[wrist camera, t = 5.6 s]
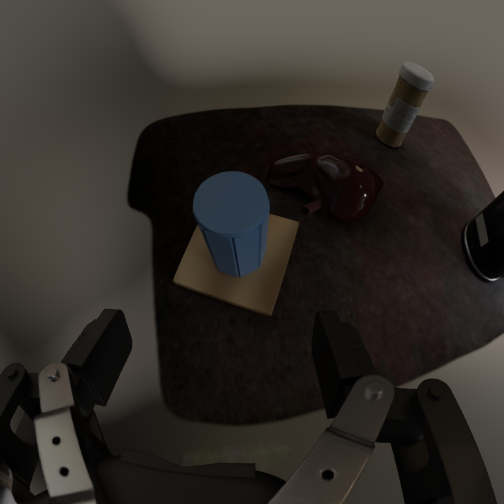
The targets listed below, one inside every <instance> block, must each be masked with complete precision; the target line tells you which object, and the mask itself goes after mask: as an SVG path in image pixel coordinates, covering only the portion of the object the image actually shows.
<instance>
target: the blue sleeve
mask: <svg viewBox="0 0 504 504" xmlns="http://www.w3.org/2000/svg"><path fill="white" fill-rule="evenodd" d="M269 208H270V204H269V199H268V196H267V193H266V190H265V188H264V187H263V185H262V184H261V183H260V182H259V181H258V180H257V179H256V178H254V177H253V176H251V175H249V174H246V173H243V172H236V171H229V172H223V173H219V174H216V175H214V176H212V177H210V178H209V179H207V180H206V181H204V182H203V183H202V184H201V186H200V187H199V188H198V190H197V191H196V194H195V196H194V200H193V213H194V215H195V218H196V221H197V223H198V226H199V228H200V231H201V233H202V236H203V238H204V241H205V243H206V246H207V248H208V251H209V253H210V255H211V257H212V260H213V262H214V264H215V266H216V268H217V270H219V272H222V273H225V274H228V275H231V276H234V277H238V276H239V275H240V277H242V276H244V275H247V274H249V273H251V272H253V271H255V270H257V269H258V267H260V266H261V263H262V260H263V257H264V254H265V251H266V243H267V232H268V220H269Z"/></svg>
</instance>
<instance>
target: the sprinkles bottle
mask: <svg viewBox="0 0 504 504" xmlns="http://www.w3.org/2000/svg"><path fill="white" fill-rule="evenodd" d="M399 73H400V75H399V78H398V81H397V84H396V86H395V88H394V91H393V93H392V95H391V97H390V99H389V102H388V104H387V107H386V109H385V111H384V114H383V118H382V120H381V122H380V124H379V127H377V129H376V135H377V137H378V138H379V139H380V140H381V141H382V142H383V143H384V144H386V145H388V146H391V147H399V146H400V145H401V144H402V140H403V139H404V136H405V135H406V133H407V132H408V130H409V128H410V127H411V125H412V123H413V121H414V119H415V117H416V115H417V113H418V111H419V109H420V107H421V104H422V102H423V100H424V98H425V96H426V94H427V93H428V91H429V90H430V89H431V87H432V85H433V82H434V78H433V76H432V75H431V73H429V72H428V71H427V70H426V69H424V68H423V67H421V66H419V65H417V64H415V63H412V62H404V63H403V64H402V66H401V69H400V72H399Z"/></svg>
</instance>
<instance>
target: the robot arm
mask: <svg viewBox="0 0 504 504" xmlns="http://www.w3.org/2000/svg"><path fill="white" fill-rule="evenodd" d="M462 247H463V251H464V255H465V257H466V260H467V262H468V264H469V266H470V268H471V269H472V271H473V272H474V274H475V275H476V276H477V277H478V278H480V279H481V280H482V281H485V282H493V281H495V280H497V279H499V278H503V277H504V191H503V192H502V193H501V194H500V195H499V196H498V197H496V198H495V199H494V200H493V201H492V202H491V203H490V204H489V205H488V206H487V207H486V208H485V209H483V210H482V211H481V212H480V213H479V214H478V215H477V216H475V217H474V218H473V219H471V220H470V221H469V222H467V223H466V224H465V226H464V228H463V231H462ZM131 350H132V338H131V335H130V331H129V328H128V325H127V322H126V319H125V316H124V313H123V312H122V310H115V309H104V310H103V312H102V313H101V314H100V316H99V317H98V318H97V319H95V320H94V321H92V322H91V323H89V324H88V325H87V326H86V327H85V328H84V330H83V331H82V333H81V335H79V337H78V338H77V341H75V342H74V344H73V345H72V347H71V348H70V349H69V351H68V352H67V354H66V355H65V357H64V358H63V360H62V361H61V362H53V363H50V364H48V365H46V366H45V367H44V368H43V369H42V370H41V371H40V373H28V372H27V371H26V369H25V368H24V366H23V365H22V364H20V363H13V364H10V365H9V366H7V367H6V368H5V369H4V371H3V372H2V373H1V375H0V504H344V502H345V501H346V499H347V498H348V496H349V494H350V493H351V491H352V490H353V488H354V486H355V484H356V483H357V481H358V479H359V477H360V476H361V474H362V472H363V470H364V468H365V466H366V465H367V463H368V461H369V459H370V457H371V455H372V452H373V450H374V448H375V445H374V443H375V442H380V443H391V447H392V450H393V454H394V458H395V462H396V466H397V470H398V474H399V479H400V483H401V488H402V492H403V497H404V502H405V504H497V502H496V498H495V495H494V492H493V488H492V486H491V482H490V479H489V476H488V473H487V470H486V467H485V465H484V462H483V459H482V457H481V454H480V452H479V449H478V447H477V444H476V442H475V440H474V437H473V435H472V433H471V430H470V428H469V426H468V424H467V422H466V420H465V417H464V415H463V413H462V411H461V409H460V407H459V405H458V403H457V401H456V399H455V397H454V395H453V393H452V391H451V389H450V388H449V386H448V385H447V384H446V383H444V382H443V381H441V380H438V379H427V380H424V381H423V382H421V384H420V385H419V386H418V388H417V389H405V388H396V387H393V385H392V383H391V382H390V381H389V380H387V379H386V378H384V377H382V376H379V375H378V374H377V371H376V369H375V367H374V365H373V363H372V360H371V358H370V356H369V354H368V352H367V350H366V348H365V345H364V343H363V341H362V340H361V337H360V335H359V333H358V331H357V329H356V328H354V327H353V326H352V325H351V324H350V323H349V322H343V323H341V321H340V319H339V317H338V314H337V312H336V311H321V312H317V313H316V316H315V323H314V330H313V337H312V355H313V360H314V364H315V368H316V372H317V376H318V380H319V384H320V388H321V393H322V397H323V401H324V406H325V410H326V415H327V419H330V418H335V419H334V420H333V422H332V424H331V425H330V426H329V428H326V430H325V431H324V432H323V434H322V435H321V436H320V438H319V439H318V441H317V442H316V444H315V445H314V447H313V448H312V450H311V451H310V452H309V454H308V455H307V456H306V458H305V459H304V460H303V462H302V463H301V464H300V466H299V467H298V468H297V469H296V471H295V472H294V473H293V474H292V476H291V477H290V478H289V480H288V481H287V482H286V481H284V480H282V479H280V478H278V477H276V476H274V475H271V474H268V473H264V472H260V471H255V463H214V464H207V465H199V466H189V467H183V466H179V465H177V464H174V463H171V462H169V461H167V460H164V459H162V458H159V457H157V456H155V455H152V454H147V453H142V452H138V451H133V450H129V449H125V448H123V449H122V452H121V455H118V456H113V455H112V453H111V452H110V450H109V448H108V446H107V444H106V441H105V439H104V436H103V434H102V431H101V428H100V425H99V422H98V419H97V416H96V413H95V411H94V410H93V408H94V406H95V404H97V405H101V406H106V404H107V402H108V399H109V397H110V395H111V393H112V391H113V388H114V386H115V384H116V382H117V380H118V378H119V375H120V373H121V371H122V369H123V367H124V365H125V363H126V361H127V358H128V356H129V354H130V352H131ZM18 405H19V406H20V407H21V408H22V409H23V410H24V412H25V414H24V416H23V418H22V420H21V422H20V424H19V426H18V428H17V430H16V433H15V434H14V433H13V432H12V430H11V428H10V421H11V419H12V417H13V415H14V413H15V411H16V409H17V407H18ZM39 457H40V461H41V465H42V470H43V473H44V478H45V482H46V485H47V490H45V491H44V492H41V493H39V494H37V495H36V496H34V494H33V493H32V492H30V484H31V480H32V477H33V474H34V471H35V468H36V466H37V463H38V460H39Z"/></svg>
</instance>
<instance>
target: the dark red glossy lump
mask: <svg viewBox="0 0 504 504" xmlns="http://www.w3.org/2000/svg"><path fill="white" fill-rule="evenodd" d="M267 180H268V182H269V183H270V184H271V185H273V186H275V187H281V188H293V187H300V188H302V189H303V190H304V191H305V192H306V193H307V195H308V196H309V197H310V198H311V199H312V200H314V201H313V202H311V203H309V204H308V205H306V206H304V207H303V208H302V213H303V214H305V215H309V214H310V213H312V212H313V211H315V210H317V209H319V208H321V209H322V210H323V211H324V212H325V213H326V214H328V215H329V216H331V217H332V218H334V219H335V220H337V221H340V222H352V221H356V220H358V219H360V218H362V217H363V216H364V215H365V214H366V213H367V212H368V211H369V210H370V208H371V207H372V205H373V203H374V202H375V200H376V198H377V195H378V193H379V191H380V190H381V189H382V187H383V184H384V182H383V180H382V179H381V178H380V177H379V176H378V175H377V174H376V173H374V172H373V171H371V170H370V169H368V168H367V167H366V166H365V165H363V164H362V163H360V162H359V161H357V160H355V159H352V158H349V157H346V156H343V155H340V154H335V153H329V154H325V155H322V154H319V153H315V152H306V153H300V154H295V155H290V156H287V157H284V158H281V159H279V160H277V161H275V162H274V163H273V164H272V165H271V166H270V168H269V170H268V173H267Z"/></svg>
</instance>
